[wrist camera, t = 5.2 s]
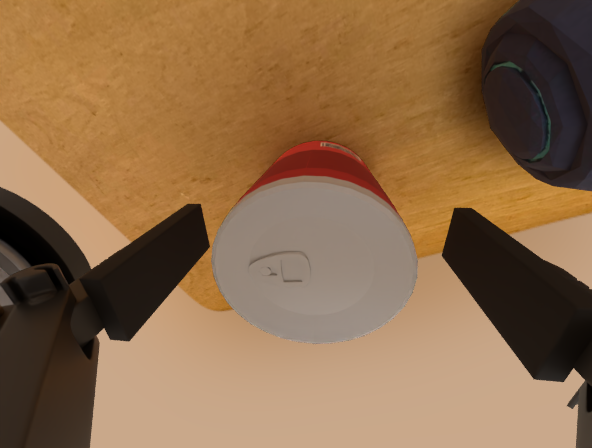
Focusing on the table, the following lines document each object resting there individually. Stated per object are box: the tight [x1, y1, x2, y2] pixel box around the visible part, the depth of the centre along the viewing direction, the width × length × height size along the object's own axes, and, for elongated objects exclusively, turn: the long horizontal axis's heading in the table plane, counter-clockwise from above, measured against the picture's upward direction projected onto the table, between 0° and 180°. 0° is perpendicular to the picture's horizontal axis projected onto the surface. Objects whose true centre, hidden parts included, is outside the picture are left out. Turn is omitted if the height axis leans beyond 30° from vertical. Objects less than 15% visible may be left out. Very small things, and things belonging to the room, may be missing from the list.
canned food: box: [211, 141, 418, 344], centre depth 14 cm, size 8×8×11 cm
